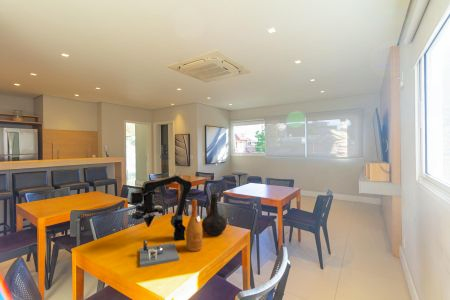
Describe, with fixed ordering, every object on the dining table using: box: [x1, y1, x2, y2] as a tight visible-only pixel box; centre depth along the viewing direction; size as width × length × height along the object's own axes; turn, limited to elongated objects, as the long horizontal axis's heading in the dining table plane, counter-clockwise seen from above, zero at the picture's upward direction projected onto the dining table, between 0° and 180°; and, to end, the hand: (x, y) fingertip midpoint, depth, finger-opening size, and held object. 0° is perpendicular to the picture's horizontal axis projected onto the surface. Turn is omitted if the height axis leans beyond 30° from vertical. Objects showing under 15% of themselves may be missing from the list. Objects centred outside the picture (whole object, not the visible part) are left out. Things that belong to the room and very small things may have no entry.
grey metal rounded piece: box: [142, 239, 163, 257], centre depth 126 cm, size 9×11×6 cm
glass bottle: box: [201, 193, 228, 236], centre depth 161 cm, size 18×18×28 cm
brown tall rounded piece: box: [185, 199, 203, 252], centre depth 136 cm, size 10×10×30 cm
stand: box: [139, 242, 180, 268], centre depth 128 cm, size 20×20×7 cm
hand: (148, 226), depth 140 cm, fingers closed
